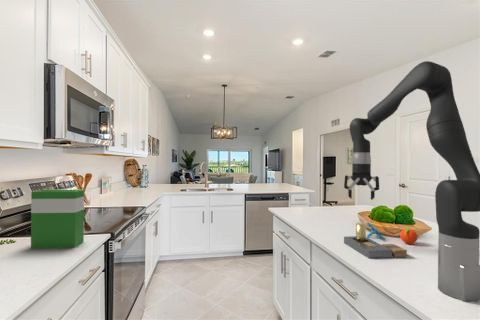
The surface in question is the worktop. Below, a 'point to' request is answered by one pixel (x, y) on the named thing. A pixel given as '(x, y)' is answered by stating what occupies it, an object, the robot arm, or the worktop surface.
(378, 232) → the gear
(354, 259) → the worktop surface
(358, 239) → the brass peg
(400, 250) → the brown rectangular block
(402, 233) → the tomato
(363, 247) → the flange plate
